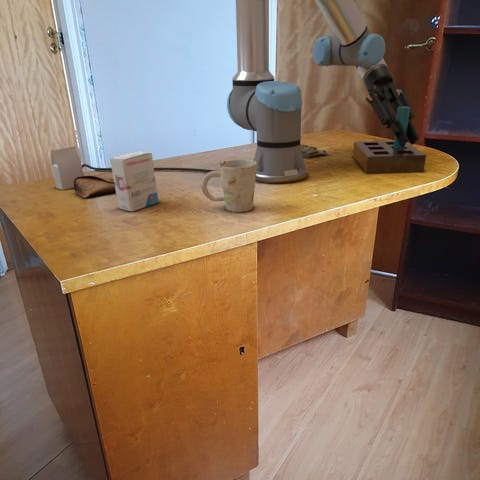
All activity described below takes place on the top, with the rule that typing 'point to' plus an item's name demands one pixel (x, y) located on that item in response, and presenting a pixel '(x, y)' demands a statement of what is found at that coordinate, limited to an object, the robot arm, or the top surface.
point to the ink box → (134, 180)
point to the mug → (234, 184)
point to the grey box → (66, 167)
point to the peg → (403, 119)
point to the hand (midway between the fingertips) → (409, 142)
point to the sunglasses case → (94, 185)
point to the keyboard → (310, 151)
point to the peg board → (388, 157)
